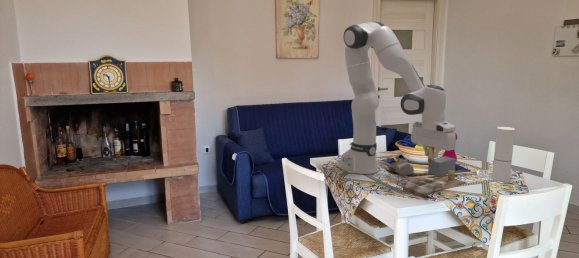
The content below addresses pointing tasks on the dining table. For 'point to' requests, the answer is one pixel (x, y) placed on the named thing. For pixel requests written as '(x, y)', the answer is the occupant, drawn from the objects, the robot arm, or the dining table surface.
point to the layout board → (449, 185)
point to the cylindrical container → (503, 154)
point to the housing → (441, 166)
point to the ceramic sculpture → (402, 167)
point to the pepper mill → (451, 152)
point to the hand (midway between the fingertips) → (431, 156)
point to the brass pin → (430, 152)
